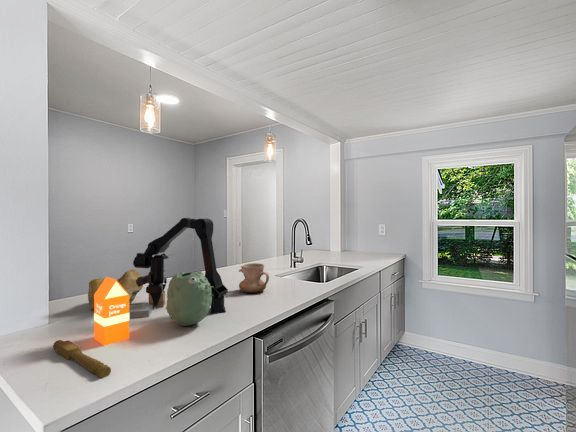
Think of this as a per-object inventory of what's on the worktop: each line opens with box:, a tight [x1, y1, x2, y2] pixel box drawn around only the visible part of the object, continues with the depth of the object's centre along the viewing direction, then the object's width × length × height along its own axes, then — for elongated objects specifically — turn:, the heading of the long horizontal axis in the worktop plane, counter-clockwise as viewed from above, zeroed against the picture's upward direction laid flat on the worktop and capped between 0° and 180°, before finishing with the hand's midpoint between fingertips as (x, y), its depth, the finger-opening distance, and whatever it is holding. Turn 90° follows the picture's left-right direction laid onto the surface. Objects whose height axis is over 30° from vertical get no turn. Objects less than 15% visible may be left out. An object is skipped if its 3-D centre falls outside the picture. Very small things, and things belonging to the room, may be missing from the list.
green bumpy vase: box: [165, 270, 213, 327], centre depth 114 cm, size 16×19×20 cm
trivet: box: [129, 303, 154, 319], centre depth 126 cm, size 10×10×2 cm
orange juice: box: [93, 276, 130, 347], centre depth 101 cm, size 8×9×20 cm
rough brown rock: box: [87, 269, 144, 310], centre depth 140 cm, size 23×17×15 cm
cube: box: [148, 290, 166, 309], centre depth 137 cm, size 6×6×6 cm
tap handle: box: [52, 339, 112, 379], centre depth 86 cm, size 3×3×30 cm
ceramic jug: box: [238, 262, 270, 294], centre depth 164 cm, size 18×14×14 cm
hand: (157, 303), depth 137 cm, fingers open, 8 cm apart
